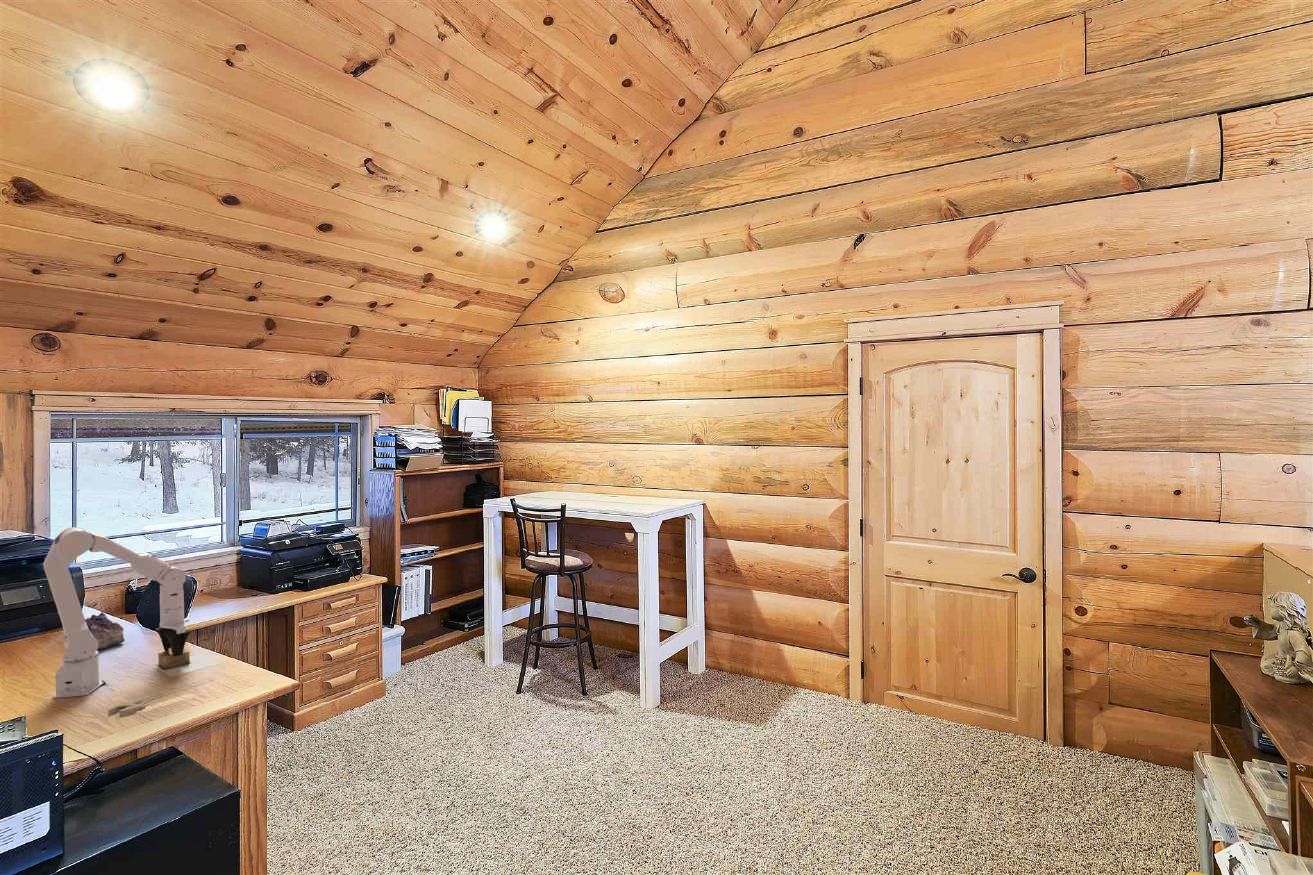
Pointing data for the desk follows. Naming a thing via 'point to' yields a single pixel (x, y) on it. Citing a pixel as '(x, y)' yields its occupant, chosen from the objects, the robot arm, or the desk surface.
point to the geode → (105, 631)
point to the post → (171, 667)
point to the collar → (173, 659)
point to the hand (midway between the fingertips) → (173, 652)
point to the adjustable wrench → (139, 703)
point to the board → (190, 666)
